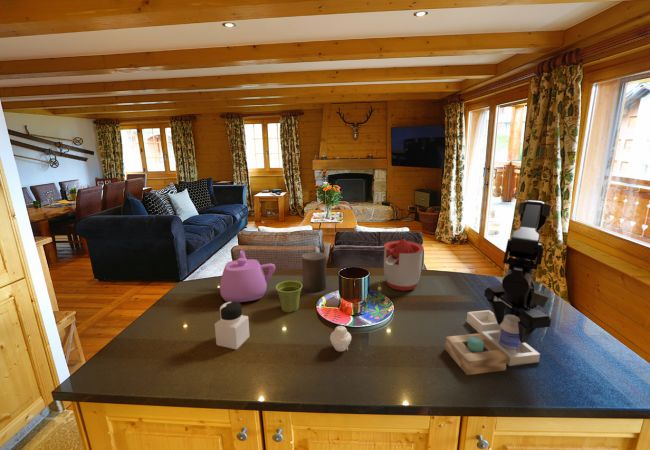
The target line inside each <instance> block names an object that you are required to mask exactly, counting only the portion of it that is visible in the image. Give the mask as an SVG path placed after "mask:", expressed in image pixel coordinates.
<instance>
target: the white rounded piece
mask: <svg viewBox="0 0 650 450" xmlns="http://www.w3.org/2000/svg"><path fill="white" fill-rule="evenodd" d="M329 341H330V342H331V345H332V346H333V348H334V350H335V351H337V352H344V351H346V350H347V348H348V347H349V345H350V344H351V341H352V334H351V333H350V332H349V331H348V329H347V328H346V327H345V326H343V325H337V326H336V327H335V328H334V331H332V332H331V334H330V335H329Z"/></svg>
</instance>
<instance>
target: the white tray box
mask: <svg viewBox="0 0 650 450" xmlns="http://www.w3.org/2000/svg"><path fill="white" fill-rule="evenodd" d="M466 323H467V324H469V326H471V327H472V328H473V329H474V330H475V331H476V332H477V333H481V332H484V331H493V330H500V325H501V324H500V325H499V324H498V323H497V321H496V318H495V316H494V313H493V311H491V310H490V309H486V310H476V311H468V312H467V315H466Z"/></svg>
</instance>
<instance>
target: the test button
mask: <svg viewBox="0 0 650 450" xmlns="http://www.w3.org/2000/svg"><path fill="white" fill-rule="evenodd" d="M467 348H468V349H469V350H470V351H471V352H472V353H476V352H483V348H484V341H483V340H482V339H480V338H477V337H469V338H468V343H467Z"/></svg>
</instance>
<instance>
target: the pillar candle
mask: <svg viewBox="0 0 650 450" xmlns="http://www.w3.org/2000/svg"><path fill="white" fill-rule="evenodd" d="M301 258H302V259H301V264H302V267H301V268H302V269H301V271H302V274H301V275H302V288H303V290H304V291H305V292H306V291H307V292H311V293H318V292H322V291H325V290H326V289H327V255H326V253H323V252H319V251H317V252H316V251H312V252H311V251H310V252H306V253H303V254H301Z"/></svg>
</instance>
